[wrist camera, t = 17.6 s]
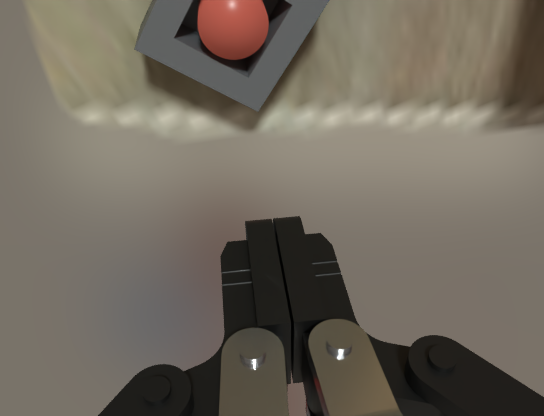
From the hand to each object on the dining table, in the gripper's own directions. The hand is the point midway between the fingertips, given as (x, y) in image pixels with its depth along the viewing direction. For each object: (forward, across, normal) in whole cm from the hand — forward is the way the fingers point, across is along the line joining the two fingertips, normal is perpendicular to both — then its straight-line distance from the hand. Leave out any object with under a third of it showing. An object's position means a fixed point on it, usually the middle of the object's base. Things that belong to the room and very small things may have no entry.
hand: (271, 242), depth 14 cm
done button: (+21, 0, 0) cm, 21 cm away
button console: (+23, 0, 0) cm, 23 cm away
